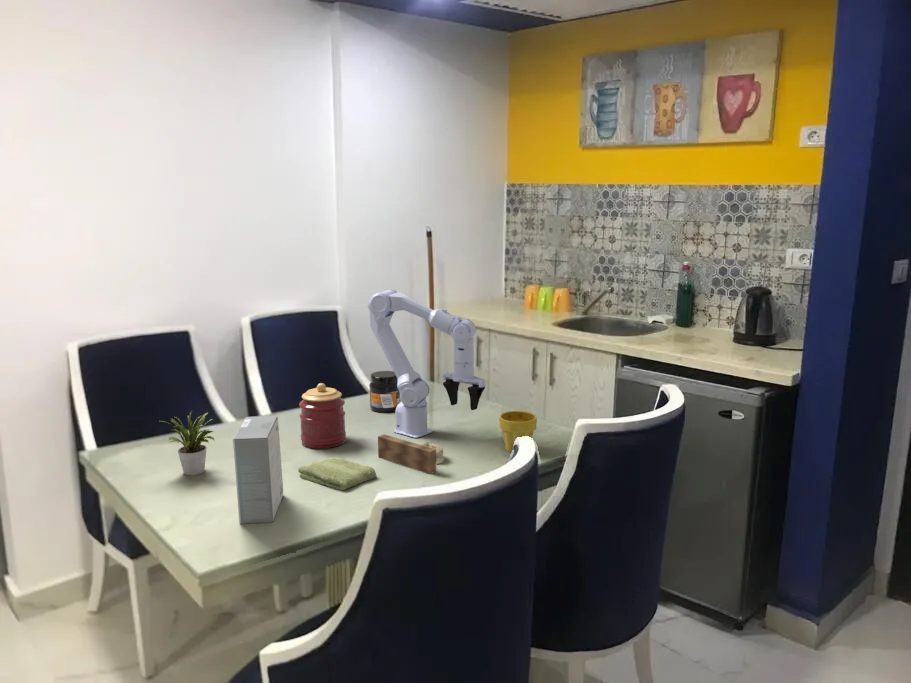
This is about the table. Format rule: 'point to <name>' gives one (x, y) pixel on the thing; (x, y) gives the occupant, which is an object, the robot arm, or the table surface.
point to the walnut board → (407, 453)
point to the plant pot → (516, 426)
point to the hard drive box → (258, 469)
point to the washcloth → (337, 473)
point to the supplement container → (384, 391)
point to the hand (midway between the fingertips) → (463, 406)
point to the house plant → (192, 446)
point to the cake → (439, 452)
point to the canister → (322, 418)
